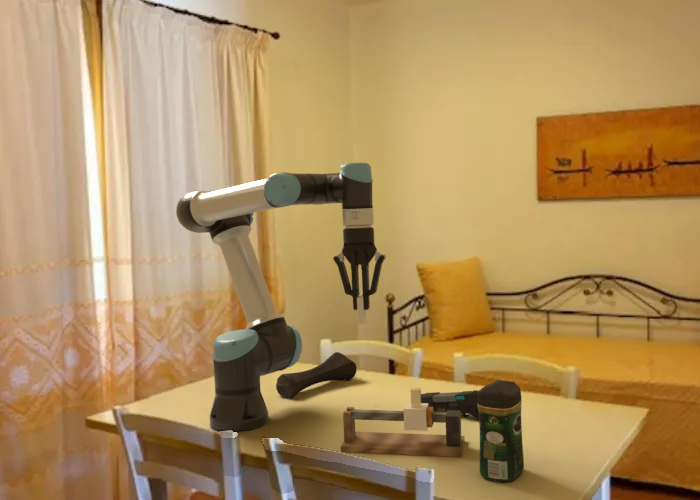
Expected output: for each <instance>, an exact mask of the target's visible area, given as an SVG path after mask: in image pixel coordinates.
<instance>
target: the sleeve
mask: <svg viewBox="0 0 700 500" xmlns="http://www.w3.org/2000/svg"><path fill="white" fill-rule="evenodd" d="M421 389H422V388H421V387H412V386H411V388H410V402H406V403H405V406H404V407H403V411H404V421H403V427H404V428H403V429H404V431H417V432H418V431H421V432H428V428H429V427H428V426H427V410H428V408H429V406H428V403H421V394H422V393H421V392H422V391H421Z"/></svg>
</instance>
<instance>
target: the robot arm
mask: <svg viewBox="0 0 700 500" xmlns="http://www.w3.org/2000/svg"><path fill="white" fill-rule="evenodd" d="M372 177H373V175H372V167H371V165H370V164H369V163H367V162H346V163H342V164H341V165H340V171H339V172H334V173H332V172H330V173H294V172H293V173H292V172H291V173H290V172H286V171H285V172H279V173H278V172H277V173H272V174H271V175H270V176H268V178H263V179H260V180H255V181H251V182H247V183H242V184H238V185H235V186H230V187H226V188H222V189H218V190H204V189H203V190H202V189H201V190H196V191H190V192H188V193H185V194H183V196H182V197H181V198H180V199H179V200H178V202H177V205H176V211H175V212H176V218H177V219H178V222H179V224H180V225H181V226H182V227H183V228H184V229H186V230H187V231H189V232H192V233H196V234H197V233H200V234H201V233H209V236H210V238H211V241H212V243H213V244H215V245H217V246H219V247H220V250H221V253H222V256H223V259H224V261H225V262H224V263H225V264H226V267H227V269H228V272H229V275H230V279H231V281H232V284H233V286H234V289H235V292H236V294H237V297H238V300H239V303H240V306H241V309H242V312H243V314H244V318H245V320H246V323H247V325H246V327H245V328H242V329H237V330H230V331H226V332H224V333H222V334H220V335H218V336H217V337H215V339H214V340H213V344H212V361H213V374H214V375H213V376H214V394H215V395H214V397H213V402H212V407H211V409H210V410H211V411H210V414H209V427H211V428H212V429H214V430H216V431H217V430H218V431H221V430H234V431H233V432H239V431H248V430H253V429H256V428H260V427H262V426H264V425H265V424H267V423H268V422H269V420H270V419H269V410H268V407H267V405H266V402H265V399H264V396H263V394H262V391H261V377H262V376H266V375H270V374H272V373H276V372H279V371H280V372H281V371H284V370H286V369H288V368H291V367H293V366H294V365H295V364H296V363H297V362H298V361H299V359H300V358H301V354H302V352H303V340H302V337H301V334H300V332H299V330H297V328H295V327H294V326H292V325H290V324H288V323H287V321H286V318H285V316H284V315H282V314H280V313H278V312H277V309H276V306H275V304H274V301H273V298H272V295H271V293H270V289H269V288H268V285H267V283H266V279H265V277H264V274H263V271H262V269H261V267H260V264H259V260H258V257H257V256H256V253H255V252H256V251H255V249H254V246H253V244H252V242H251V239H250V233H251V231H252V227H251V226H252V223H253V221H254V217H253V216H254V213H255V214H256V213H258V212H265V211H268V210H273V209H278V208H279V209H281V208H284V207H285V208H286V207H290V206H298V205H303V206H304V205H327V204H328V205H329V204H330V205H331V204H341V213H342V225H343V227H345V228H343V230H342V235H343V236H342V237H343V238H342V239H343V241H342V242H343V247H342V249H341V252H340V253H338V254H337V255H334V256H333V261H334V263H335V264H336V266H337V268H338V271H339V275H340V278H341V282H342V283H341V284H342V286H343V290H344V293H345V295H346V296H347V295H349V296H351V297H352V307H353V310H354V311H356V312H357V324H358V325H365V324H366V323H367V312H366V311H368V310H369V309H370V307H371V306H370V296H371V295H374V294H376V293H377V291H378V287H379V281H380V276H381V271H382V265H383V264H384V262H385V260H386V258H387V256H386V255H385V254H382V253H381V252H379V251H378V250H377V247H376V245H375V228H374V227H372V226H374V224H375V222H374V221H375V220H374V206H373V182H374V181H373V178H372ZM373 258H374V261H375V264H374V269H373V274H372V279H371V284H370V275H369V274H370V273H369V272H370V271H369V270H370V268H369V267H370V263H371V261H372V260H373ZM345 259H346V260H347V262H348V263H349V264H350V272H351V280H350V278H349V275H348V272H347V268H346V263H345ZM359 267H360V268H361V283H362V284H361V285H362V286H361V287H362V295H360V294H361V293H360V282H359V281H360V279H359V278H360V277H359ZM350 281H351V282H350Z"/></svg>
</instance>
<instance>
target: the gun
mask: <svg viewBox="0 0 700 500" xmlns="http://www.w3.org/2000/svg"><path fill="white" fill-rule="evenodd" d="M478 391H479V390H477V389H475V390H463V391H455V392H454V391H453V392H440V391H436V392H434V391H433V392H425V393H421V403H428V406H429V407H433V411H437V410H444V412H447V410H457V411H461V415H462V416H463V417H464V418H466V417H469V416H470V415H471V416H472V418H473V419H475V420H476V421H477V422H479V411H478V405H477V404H478V395H477V393H478Z"/></svg>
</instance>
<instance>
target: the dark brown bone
mask: <svg viewBox="0 0 700 500" xmlns="http://www.w3.org/2000/svg"><path fill="white" fill-rule="evenodd" d="M356 374H357V364H356V363H355V362H354V361H353V360H352V359H350V358H349V357H348V356H346V355H344V354H343V353H342V352H338V351H335V352H334V353H331V355H330V356H329V357H327V359H326V360H324V361H323V362H322V363H321V364H318V365H317V366H315V367H312V368H310V369H306V370H303V371H299V372H292V373H291V372H290V373H281V375H280V376H278V378H277V379H276V384H275V387H276V388H275V389H276V391H277V394H278V395H279V396H281V397H282V398H283V399H289V400H290V399H292V398H294V397H295V396H297V395H298V394H299V393H301V392H302V391H304V390H305V389H307V388H309V387H312V386H313V385H317V384H319V383H324V382H332V381H333V382H334V381H340V382H342V381H343V382H349V380H350V381H352V379H353V378H355V376H356Z"/></svg>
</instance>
